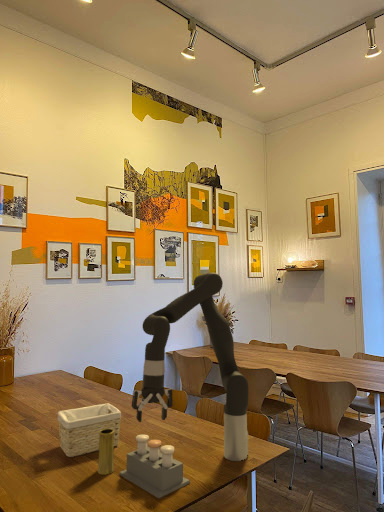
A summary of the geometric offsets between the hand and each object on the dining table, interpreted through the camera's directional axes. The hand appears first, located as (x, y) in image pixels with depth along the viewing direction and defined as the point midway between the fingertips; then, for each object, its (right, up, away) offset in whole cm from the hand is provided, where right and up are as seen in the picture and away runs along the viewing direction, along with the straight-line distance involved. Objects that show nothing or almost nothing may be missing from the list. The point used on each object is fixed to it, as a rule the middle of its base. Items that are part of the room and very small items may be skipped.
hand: (151, 420), depth 132 cm
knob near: (+6, -17, -2) cm, 18 cm away
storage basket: (-30, -24, +30) cm, 49 cm away
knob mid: (+1, -17, +3) cm, 17 cm away
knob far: (-4, -18, +7) cm, 20 cm away
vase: (-18, -22, +8) cm, 30 cm away
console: (+1, -22, +2) cm, 22 cm away
